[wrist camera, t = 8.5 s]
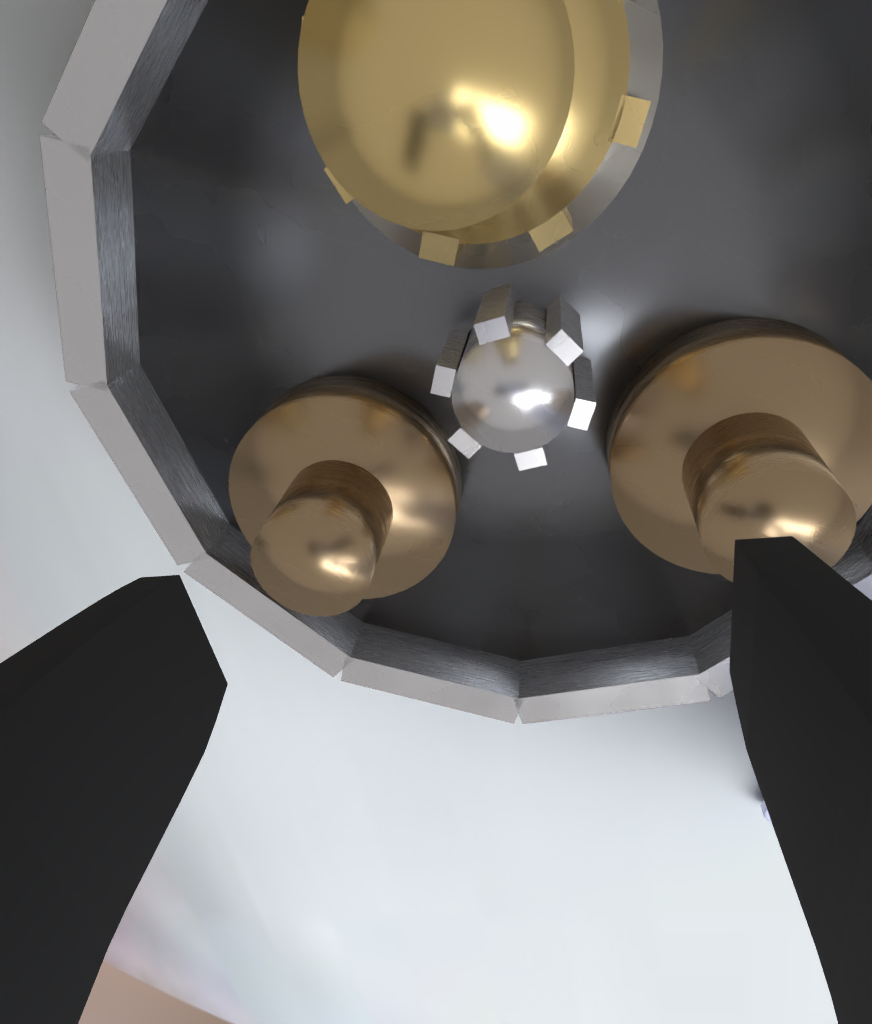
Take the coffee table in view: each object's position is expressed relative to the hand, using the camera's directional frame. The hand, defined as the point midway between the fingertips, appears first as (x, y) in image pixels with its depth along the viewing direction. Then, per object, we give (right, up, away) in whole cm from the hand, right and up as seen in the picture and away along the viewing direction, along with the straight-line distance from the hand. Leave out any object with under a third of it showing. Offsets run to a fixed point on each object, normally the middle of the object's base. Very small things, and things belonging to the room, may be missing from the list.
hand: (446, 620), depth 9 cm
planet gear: (+1, +9, +4) cm, 10 cm away
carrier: (+2, +6, +8) cm, 10 cm away
